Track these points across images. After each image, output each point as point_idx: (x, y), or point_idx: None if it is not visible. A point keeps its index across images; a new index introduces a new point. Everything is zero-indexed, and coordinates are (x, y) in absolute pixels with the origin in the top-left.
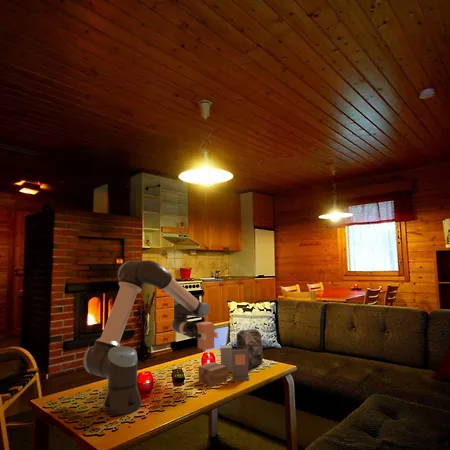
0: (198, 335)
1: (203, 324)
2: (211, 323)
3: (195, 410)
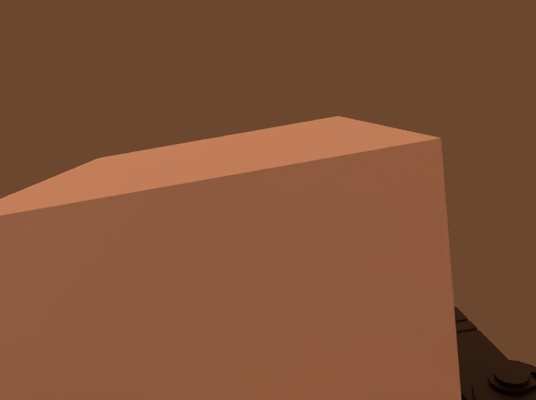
0: (459, 321)
1: (322, 121)
2: (142, 152)
3: None
